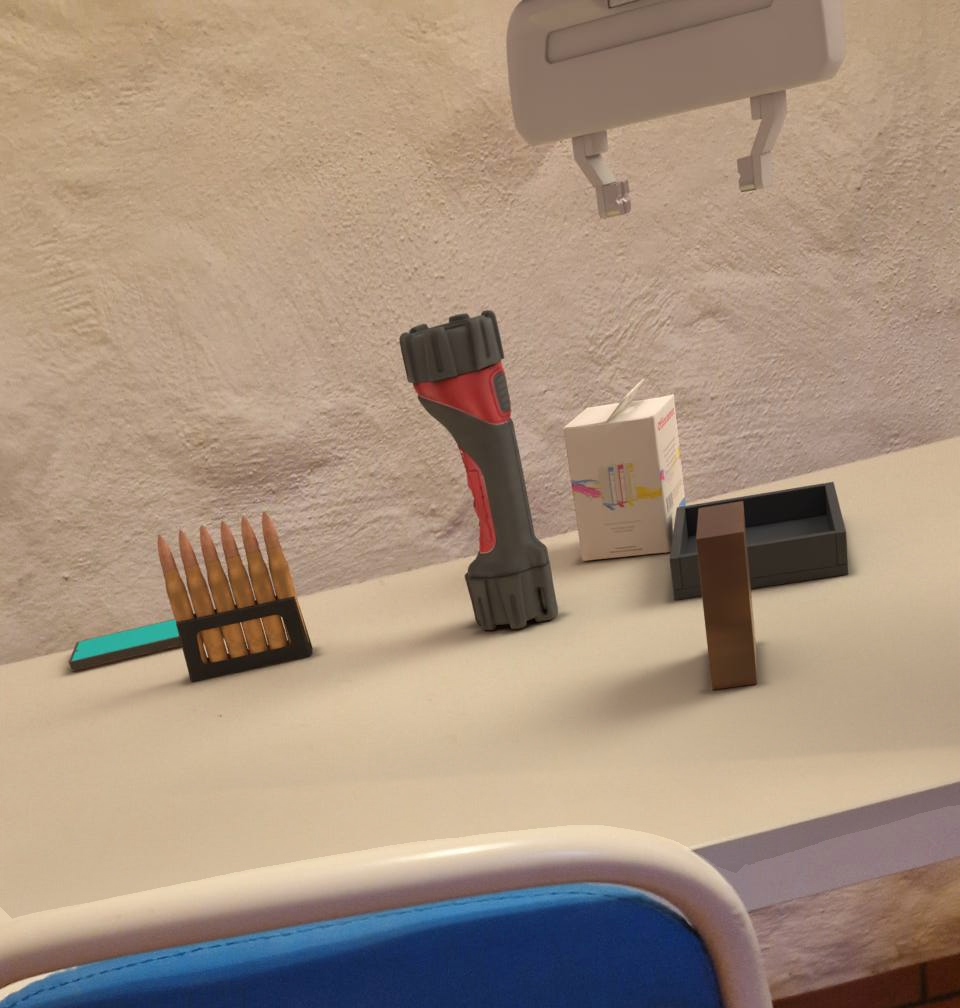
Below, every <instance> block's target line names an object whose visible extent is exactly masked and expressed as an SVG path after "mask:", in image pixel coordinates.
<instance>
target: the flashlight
mask: <svg viewBox="0 0 960 1008" xmlns="http://www.w3.org/2000/svg"><path fill="white" fill-rule="evenodd" d="M398 341H399V346H400V352H401V356H402V361H403V366H404V370H405V374H406V380H407V382H408V383H410V384H412V387H413V389H414V392H415V393H416V394H417V400H418V402H419V403H420V404H421V407H423V409H424V410H425V411H426V412H427V413H428V414H429V415H430V416H431V417H432V418H433V419H434V420H436V421H437V422H438V423H439V424H440V425H442V426H443V427H444V428H445V429H446V430H447V431H448V433H449V434H450V435H451V437H452V438H453V440H454V441H455V443H456V445H457V448H458V450H459V454H460V456H461V462H462V463H463V466H464V469H465V473H466V482H467V487H468V488H469V490H470V491H471V494H472V497H473V503H472V507H473V509H474V511H475V513H476V516H477V518H478V520H479V521H478V526H479V533H478V534H479V537H478V541H479V547H478V553H477V555H476V557H475V558H474V559H473V560H472V561H471V562H470V563H469V564H468V567H467V572H466V573H464V579H465V583H466V587H467V591H468V594H469V598H470V601H471V602H470V603H471V606H472V610H473V615H474V619H475V623H477V624H478V625H480V627H481V628H482V629H483V630H485V631H495V630H496V629H497V625H509V626H510V628H511V629H512V630H517V629H522V628H525V627H527V622H528V621H530V620H533V619H534V620H535V622H536V623H541V622H547V621H551V620H554V618H556V617H557V616H558V614H559V608H558V607H559V606H558V601H557V597H556V591H555V585H554V578H553V572H552V567H551V566H552V565H551V561H550V556H549V550H548V547H547V546H546V544H544V543H543V542H542V541H541V540H539V539H538V537H536V533H535V528H534V523H533V517H532V513H531V507H530V502H529V496H528V491H527V485H526V480H525V475H524V469H523V465H522V460H521V459H522V458H521V454H520V453H521V452H520V449H519V445H518V439H517V434H516V430H515V424H514V421H513V419H512V418H511V417H512V406H511V405H512V402H511V396H510V394H509V393H510V392H509V386H508V381H507V376H506V373H505V369H504V367H503V363H502V360H503V359H504V360H505V353H504V348H503V344H502V338H501V333H500V328H499V323H498V320H497V316H496V313H495V312H494V311H493V310H489V309H485V310H482V311H481V313H480V314H479V315H476V316H474V317H470V315H469V314H468V313H466V312H463V313H459V314H455V315H450V316H449V317H448V322H446V323H443V324H438V325H434V326H432V327H429V326H428V324H427V323H421V324H418V325H415V326H413V327H411V328H410V329H409V330H408V332H407V331H405V332H403V333H401V334H400V336H399V340H398Z"/></svg>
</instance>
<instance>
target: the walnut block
mask: <svg viewBox="0 0 960 1008" xmlns="http://www.w3.org/2000/svg"><path fill="white" fill-rule="evenodd" d="M696 545H697V554H698V564H699V573H700V582H701V592H702V596H701V600H702V609H703V617H704V619H703V620H704V628H705V637H706V647H707V655H708V663H709V673H710V682H711V683H710V684H711V690H712V691H715V690H723V689H730V688H737V687H745V686H751V685H752V686H753V685H757V684H758V668H757V667H758V664H757V642H756V631H755V619H754V610H753V596H752V589H751V584H750V573H749V562H748V551H747V539H746V528H745V517H744V506H743V501H740V502H734V503H727V504H721V505H715V506H709V507H703V508H699V510H698V522H697V533H696Z"/></svg>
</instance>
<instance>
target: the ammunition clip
mask: <svg viewBox="0 0 960 1008" xmlns="http://www.w3.org/2000/svg"><path fill="white" fill-rule="evenodd" d="M240 527H241V529H240V530H241V537H242V543H243V547H244V552H245V557H246V561H247V569H246V568H245V567H246V566H245V565H244V563H243V560H242V556H241V554H240V552H239V551H240V550H239V548H238V545H237V543H236V540H235V538H234V537H235V536H234V535H233V533H232V531H231V528H230V527H229V526H228V524H227V523H226V522H225V520H221V522H220V540H221V541H220V542H221V545H222V550H223V554H224V559H225V563H226V568H227V575H226V573H225V570H224V569H223V566H222V562H221V559H220V558H219V554H218V551H217V549H216V545H215V543H214V540H213V539H212V537H211V535H210V533H209V531H208V530H207V528H206V527H205V526H204V525H202V524H201V525H200V527H199V542H200V548H201V554H202V558H203V561H204V567H205V569H206V575H207V576H206V577H207V578H205V577H204V574H203V573H202V571H201V567H200V564H199V563H198V560H197V559H198V558H197V556H196V554H195V550H194V548H193V545H192V543H191V542H190V539H189V538H188V536H187V535H186V533H185V532H184V531H183V530H182V529H180V530H179V531H178V548H179V553H180V557H181V561H182V565H183V570H184V574H185V581H186V585H185V583H184V580H183V579H182V577H181V574H180V572H179V569H178V566H177V564H176V560H175V558H174V555H173V553H172V551H171V549H170V546H169V544H168V543H167V541H166V539H165V538H164V537H163V536H162V535H161V534H158V535H157V553H158V557H159V562H160V566H161V569H162V575H163V578H164V584H165V590H166V595H167V598H168V601H169V604H170V608H171V611H172V614H173V617H174V618H173V619H175V621H176V626H177V630H178V633H179V637H180V641H181V645H180V646H181V648H182V653H183V656H184V660H185V664H186V668H187V670H188V676H189V680H190V682H192V683H193V682H198V681H202V680H207V679H211V678H217V677H221V676H226V675H231V674H235V673H240V672H244V671H248V670H253V669H257V668H263V667H267V666H272V665H276V664H282V663H285V662H290V661H295V660H300V659H304V658H308V657H311V656H312V655H313V650H314V647H313V644H312V641H311V638H310V635H309V632H308V629H307V625H306V622H305V619H304V616H303V613H302V609H301V606H300V603H299V599H298V596H297V593H296V589H295V585H294V581H293V577H292V573H291V570H290V566H289V563H288V561H287V558H286V556H285V553H284V552H283V548H282V545H281V541H280V539H279V535H278V532H277V529H276V527H275V525H274V523H273V521H272V519H271V517H270V515H269V514H268V512H267V511H265V510H264V511H262V515H261V527H262V536H263V541H264V545H265V550H266V555H267V561H268V566H267V564H266V562H265V559H264V557H263V554H262V551H261V549H260V545H259V542H258V539H257V536H256V534H255V531H254V529H253V526H252V525H251V523H250V522H249V520H248V518H247V517H246V516H245V515H242V517H241V523H240ZM247 571H248V572H247ZM206 579H207V581H206ZM186 587H187V588H186ZM208 587H209V588H208ZM187 590H188V591H187ZM210 593H211V594H210ZM190 600H191V601H190ZM220 627H221V629H222V632H223V635H222V633H221V630H220ZM200 631H201V635H202V638H203V640H202V639H201V636H200V633H199V632H200Z"/></svg>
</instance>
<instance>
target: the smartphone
mask: <svg viewBox="0 0 960 1008" xmlns="http://www.w3.org/2000/svg"><path fill="white" fill-rule="evenodd" d="M220 630H221V633H222V636H223V632H222V629H221V627H220ZM199 633H200V636H201V639H202V641H203V638H202V635H201V631H200V632H199ZM179 646H182V645H181V641H180V637H179V633H178V630H177V626H176V621H175V618H173V619H169V620H164V621H161V622H156V623H152V624H147V625H143V626H139V627H135V628H130V629H126V630H121V631H118V632H113V633H109V634H104V635H101V636H97V637H91V638H88V639H84V640H79V641H77V642H76V643H75V646H74V648H73V650H72V652H71V655H70V658H69V660H68V664H69V667H70V669H71V671H75V670H76V671H77V670H80V669H85V668H89V667H93V666H98V665H102V664H106V663H112V662H114V661H119V660H123V659H128V658H132V657H135V656H141V655H144V654H148V653H152V652H158V651H162V650H166V649H171V648H174V647H179Z"/></svg>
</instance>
